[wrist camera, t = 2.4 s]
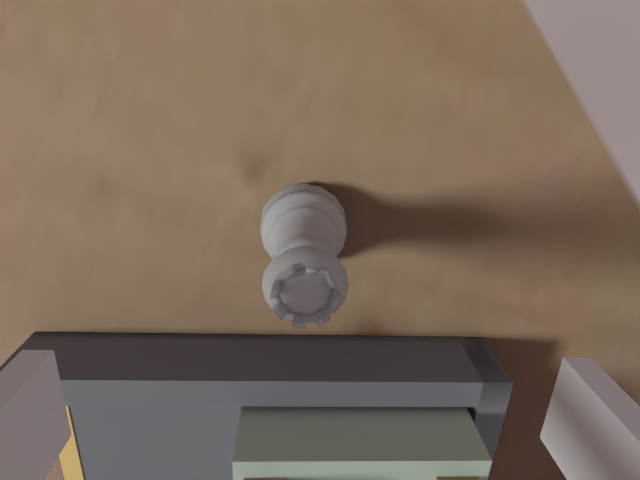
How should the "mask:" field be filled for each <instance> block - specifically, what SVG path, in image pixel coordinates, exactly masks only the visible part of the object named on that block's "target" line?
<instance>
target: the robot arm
mask: <svg viewBox="0 0 640 480" xmlns="http://www.w3.org/2000/svg"><path fill="white" fill-rule="evenodd" d="M71 435H72V434H71V430H70V425H69V420H68V415H67V411H66V406H65V401H64V396H63V391H62V387H61V382H60V377H59V372H58V367H57V363H56V358H55V353H54V350H21V351H20V352H19V353H18V354H17V355H16V356H15V357H14V358H13V359H12V360H11V361H10V362H9V363H8V364H7V365H6V367H5V368H4V369H3V370H2V371H1V372H0V480H44V478H45V477H46V475H47V473H48V472H49V470H50V469H51V467H52V465H53V464H54V462H55V461H56V459H57V457H58V456H59V454H60V453H61V451H62V450H63V448H64V446H65V445H66V443H67V442H68V440H69V438H70V437H71ZM540 439H541V440H542V442H543V443H544V445H545V446H546V448H547V450H548V451H549V453H550V454H551V456H552V457H553V459H554V460H555V462H556V464H557V465H558V467H559V468H560V470H561V471H562V473H563V474H564V476H565V478H566V479H567V480H640V406H639V405H638V404H637V403H636V402H635V401H634V400H633V399H632V398H631V397H630V396H629V395H628V394H627V393H626V392H625V391H624V390H623V389H622V388H621V387H620V386H619V385H618V384H617V383H616V382H615V381H614V380H613V379H612V378H611V377H610V376H609V375H608V374H607V373H606V372H605V371H604V370H603V369H602V368H601V367H600V366H599V365H598V364H597V363H596V362H595V361H594V360H593V359H592V358H568V357H563V359H562V362H561V366H560V369H559V373H558V376H557V380H556V383H555V386H554V390H553V393H552V397H551V400H550V403H549V407H548V410H547V414H546V417H545V420H544V424H543V427H542V431H541V434H540Z"/></svg>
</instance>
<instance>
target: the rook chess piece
mask: <svg viewBox="0 0 640 480" xmlns="http://www.w3.org/2000/svg"><path fill="white" fill-rule="evenodd" d="M260 227H261V229H260V234H261V238H262V242H263V246H264V248H265V250H266V251H267V252H268V254H269V255H270V256H271V258H272V261H271V262H270V264H269V265H268V266H267V268H266V269H265V271H264V275H263V281H262V290H263V294H264V297H265V301H266V302H267V303H268V305H269V306H270V307H271V308H272V310H273V311H274V312H275V314H276V315H277V316H278V317H279V319H280V320H282V319H283V318H286V319H287V320H289V321H292V327H298V328H304V329H305V323H308V322H314V321H316V322H317V324H318V326H320V325H322V324H324V323H325V322H327V321H329V320H330V316H329V315H331V314H333V313H334V312H336V310H338V308H339V307H340V305H341V304H342V303H343V302H344V300H345V297H346V293H347V290H348V286H349V285H348V279H347V274H346V270H345V268H344V267H343V266H342V264H341V263H340V261H339V260H338V258H337V255H338V254H339V253H340V252H341V250H342V249H343V246H344V243H345V239H346V235H347V228H346V227H347V224H346V218H345V212H344V209H343V207H342V206H341V204H340V203H339V201H338V200H337V198H336V197H335V196H334V195H332V194H331V193H329V192H328V191H326V190H325V189H323V188H322V187H319V186H314V185H309V184H298V185H293V186H288V187H285V188H284V189H282V190H281V191H279V192H278V193H276V194H275V195H273V196H272V197H271V199H270V200H269V202H268V203H267V204H266V206H265V207H264V209H263V212H262V218H261V223H260Z"/></svg>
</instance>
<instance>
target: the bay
mask: <svg viewBox="0 0 640 480" xmlns="http://www.w3.org/2000/svg"><path fill="white" fill-rule="evenodd" d="M21 350H54V353H55V358H56V363H57V367H58V372H59V377H60V382H61V387H62V391H63V396H64V401H65V406H66V411H67V415H68V420H69V425H70V430H71V434H72V435H71V437H70V438H69V440H68V442H67V443H66V445H65V446H64V448H63V450H62V451H61V453H60V454H59V456H58V458H59V462H60V466H61V470H62V474H63V478H64V480H233V467H232V461H233V455H234V449H235V443H236V437H237V431H238V425H239V419H240V413H241V407H242V406H277V407H466V408H467V410H468V412H469V414H470V416H471V418H472V420H473V422H474V424H475V426H476V428H477V430H478V432H479V434H480V437H481V439H482V441H483V443H484V445H485V447H486V449H487V451H488V453H489V455H490V457H491V459H492V464H493V460H494V457H495V453H496V449H497V445H498V441H499V438H500V434H501V430H502V426H503V422H504V418H505V415H506V411H507V407H508V403H509V399H510V396H511V392H512V388H513V384H514V382H513V381H512V379H511V378H510V376H509V375H508V373H507V372H506V370H505V369H504V367H503V366H502V364H501V363H500V361H499V360H498V358H497V357H496V355H495V354H494V352H493V351H492V349H491V348H490V346H489V345H488V343H487V342H486V340H485V339H484V338H476V337H396V336H315V335H234V334H153V333H72V332H34V333H33V334H32V335H31V336H30V337H29V338H28V339H27V340H26V341H25V342H24V343H23V344H22V345H21V346H20V347H19V348H18V349H17V350H16V351H15V352H14V353H13V354H12V355H11V356H10V357H9V358H8V360H7V361H6V362H5V363H4V364H3V365H2V366H1V367H0V372H1V371H2V370H3V369H4V368H5V367H6V365H7V364H8V363H9V362H10V361H11V360H12V359H13V358H14V357H15V356H16V355H17V354H18V353H19V352H20V351H21ZM492 464H491V467H490V471H489V475H488V479H489V476H490V472H491V468H492ZM488 479H487V480H488Z"/></svg>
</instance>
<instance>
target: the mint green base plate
mask: <svg viewBox="0 0 640 480" xmlns="http://www.w3.org/2000/svg"><path fill="white" fill-rule="evenodd" d="M491 464H492V459H491V457H490V455H489V453H488V451H487V449H486V447H485V445H484V443H483V441H482V439H481V437H480V434H479V432H478V430H477V428H476V426H475V424H474V422H473V420H472V418H471V416H470V414H469V412H468V410H467V408H466V407H277V406H242V407H241V413H240V419H239V425H238V431H237V437H236V443H235V449H234V455H233V461H232V467H233V480H487V479H488V475H489V471H490V467H491Z"/></svg>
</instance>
